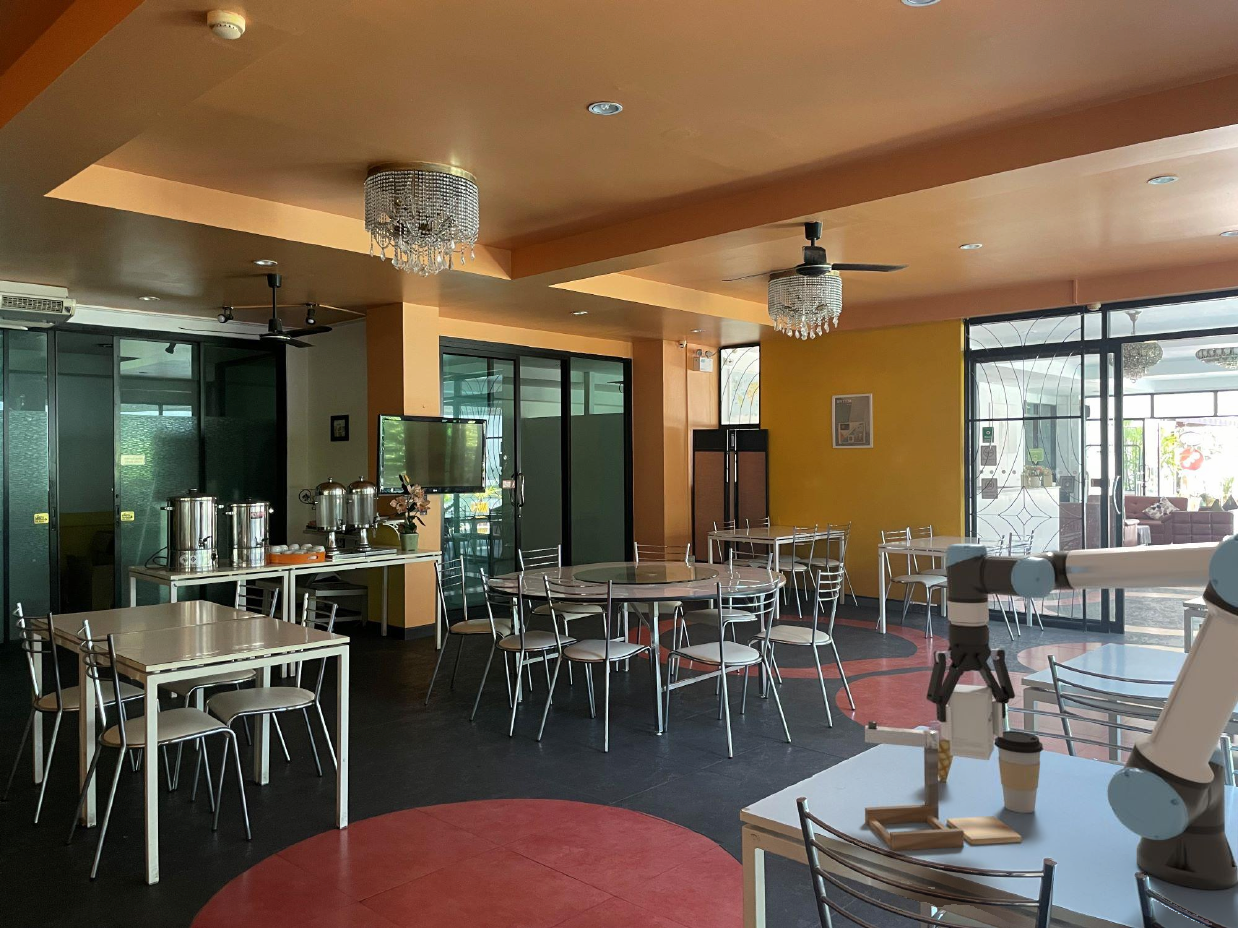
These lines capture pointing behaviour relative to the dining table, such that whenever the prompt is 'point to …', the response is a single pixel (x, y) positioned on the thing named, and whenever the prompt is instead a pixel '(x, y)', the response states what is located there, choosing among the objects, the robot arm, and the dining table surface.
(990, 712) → the supplement box
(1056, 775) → the dining table surface
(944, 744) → the ice cream cone
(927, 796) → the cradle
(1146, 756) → the robot arm
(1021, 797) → the coffee cup
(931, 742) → the bar
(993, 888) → the dining table surface
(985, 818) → the pad
